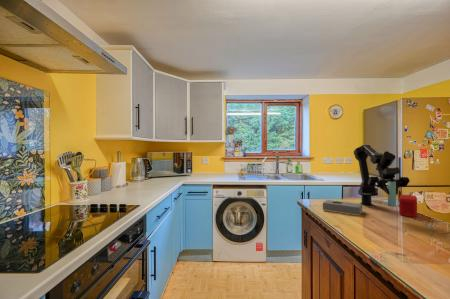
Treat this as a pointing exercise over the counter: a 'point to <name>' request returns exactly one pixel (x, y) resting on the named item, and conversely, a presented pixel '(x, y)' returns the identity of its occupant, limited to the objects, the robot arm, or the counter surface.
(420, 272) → the counter surface
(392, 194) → the peg
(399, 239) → the counter surface
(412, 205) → the decorative item
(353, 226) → the counter surface
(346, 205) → the socket block
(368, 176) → the robot arm
